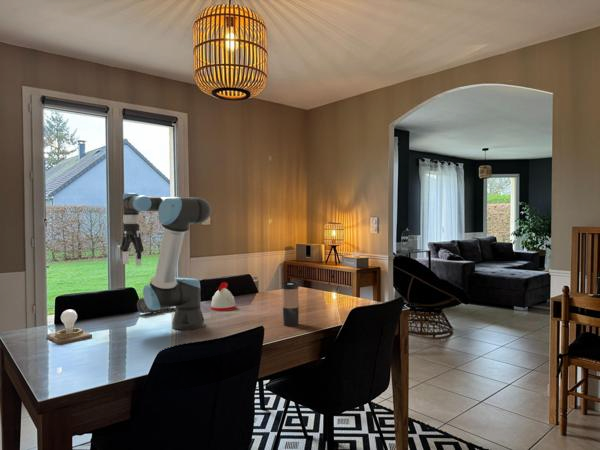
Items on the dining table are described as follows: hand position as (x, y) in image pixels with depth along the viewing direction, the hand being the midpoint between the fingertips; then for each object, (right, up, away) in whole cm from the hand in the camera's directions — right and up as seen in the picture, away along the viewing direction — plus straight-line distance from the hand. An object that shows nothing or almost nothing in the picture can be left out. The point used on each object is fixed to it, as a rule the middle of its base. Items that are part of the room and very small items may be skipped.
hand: (132, 264), depth 217 cm
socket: (-16, -29, -30) cm, 45 cm away
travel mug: (+82, -28, -13) cm, 87 cm away
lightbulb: (-16, -28, -30) cm, 44 cm away
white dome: (+42, -28, +28) cm, 57 cm away
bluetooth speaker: (+7, -29, +22) cm, 37 cm away
